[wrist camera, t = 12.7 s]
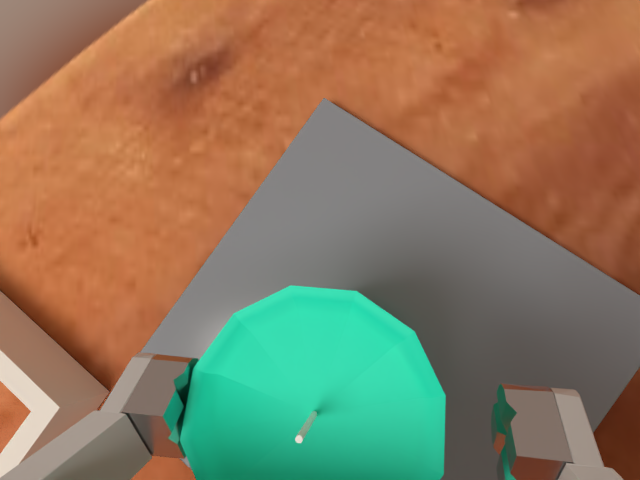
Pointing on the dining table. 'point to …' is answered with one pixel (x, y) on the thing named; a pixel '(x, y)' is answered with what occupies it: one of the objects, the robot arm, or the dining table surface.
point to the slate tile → (419, 279)
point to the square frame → (41, 384)
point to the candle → (314, 394)
